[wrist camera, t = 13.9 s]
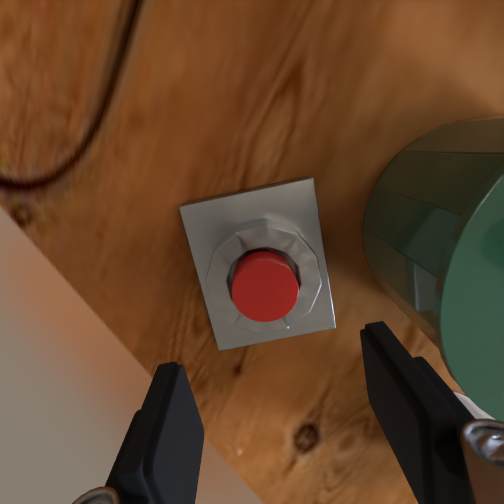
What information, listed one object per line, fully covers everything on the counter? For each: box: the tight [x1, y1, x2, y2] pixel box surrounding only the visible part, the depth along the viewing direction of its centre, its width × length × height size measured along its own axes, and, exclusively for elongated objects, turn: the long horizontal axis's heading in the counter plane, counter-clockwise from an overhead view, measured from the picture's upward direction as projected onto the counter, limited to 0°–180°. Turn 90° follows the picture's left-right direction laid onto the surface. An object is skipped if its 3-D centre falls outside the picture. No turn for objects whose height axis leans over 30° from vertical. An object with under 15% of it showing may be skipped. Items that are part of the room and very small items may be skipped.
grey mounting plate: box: [179, 176, 336, 351], centre depth 21 cm, size 10×8×3 cm
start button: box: [232, 251, 299, 322], centre depth 19 cm, size 4×4×2 cm
